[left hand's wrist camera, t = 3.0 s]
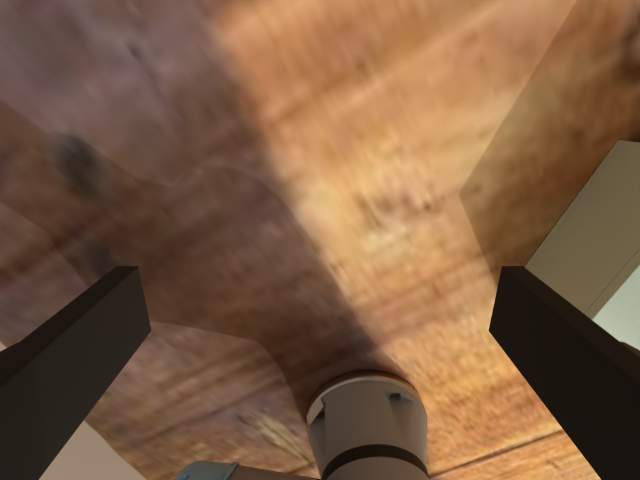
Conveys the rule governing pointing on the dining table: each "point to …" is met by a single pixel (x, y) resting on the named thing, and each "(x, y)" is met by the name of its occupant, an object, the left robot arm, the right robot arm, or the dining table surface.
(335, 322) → the dining table surface
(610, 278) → the pale green rectangular box
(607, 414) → the left robot arm
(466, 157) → the dining table surface
